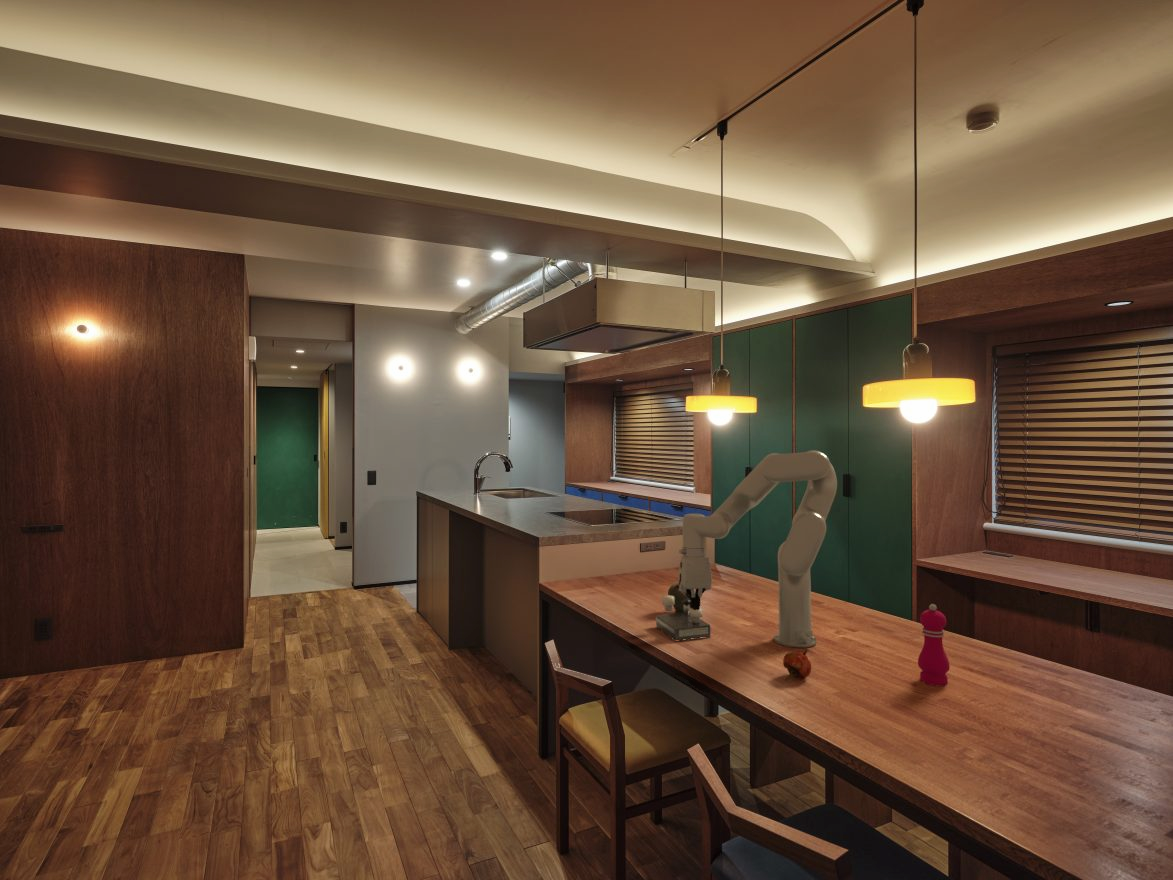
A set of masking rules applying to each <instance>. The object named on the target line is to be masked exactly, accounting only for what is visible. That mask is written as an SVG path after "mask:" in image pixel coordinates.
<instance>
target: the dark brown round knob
mask: <svg viewBox="0 0 1173 880" xmlns="http://www.w3.org/2000/svg"><path fill="white" fill-rule="evenodd" d="M682 604H683V605H684V614H690V609H689V604H690V599H683V600H682Z"/></svg>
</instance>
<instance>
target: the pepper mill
mask: <svg viewBox="0 0 1173 880" xmlns="http://www.w3.org/2000/svg"><path fill="white" fill-rule="evenodd" d="M937 609H938V607H937V604H934V603H931V604H930V605H929V606H928V609H927V610H924V611H923V612H921V613H920V617H919V622H920V624H921V625H922V629H921V630H922V631H921V632H922V635H923V637H924V638H923V639H924V640H923V641H924V643H923V646H922V649H921V651H920V653H919V656H918V659H917V665H918V667H919V669H920V670H921V671H920V672H919V673H920V674H919V679H920V681H921V680H922V681H921V682H923V683H924V682H925V684H927V683H928V684H927V685H930V684H932V685H931V686H937V685H942V686H947V684H948V675H947V673H948V672H949V670H950V667H951V666H950V662H949V658H948V656H947V653H946V651H945V648H944V645H943V637H944V636H945V630H944V628H945V627H946V625H947V619H946V616H945V615H944V613H942V612H941V611H939V610H937Z"/></svg>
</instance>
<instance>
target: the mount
mask: <svg viewBox="0 0 1173 880" xmlns="http://www.w3.org/2000/svg"><path fill="white" fill-rule="evenodd" d="M655 623H656V626H657V627H658V628H659V629H658V628H657V627H656V626H655V627H656V628H657V629H658V630H660V631H661V630H662V631H663V632H662V631H661V632H662V633H664V635H666V634H667V635H666V636H668V637H669V636H670V637H671V638H670V637H669V638H670V639H672V638H673V639H674V640H683V639H691V638H700V637H710V638H711V625H710V624H709V623H708V622H706V621H704V620H703V619H701V618H700V623H692V617H690V614H684V613H675V612H674V613H665V614H656V616H655ZM673 639H672V640H673ZM674 640H673V641H674Z"/></svg>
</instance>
